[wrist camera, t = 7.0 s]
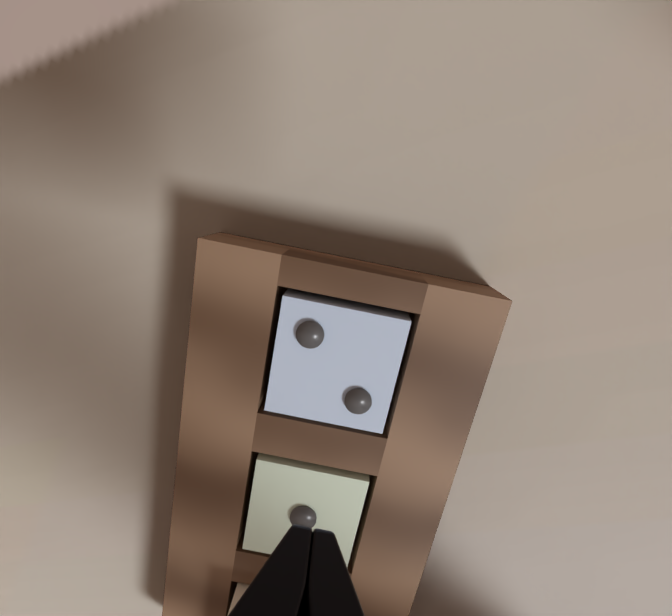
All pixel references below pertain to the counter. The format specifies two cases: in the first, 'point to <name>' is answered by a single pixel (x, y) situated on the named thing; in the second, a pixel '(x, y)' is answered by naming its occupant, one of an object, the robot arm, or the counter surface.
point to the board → (314, 436)
